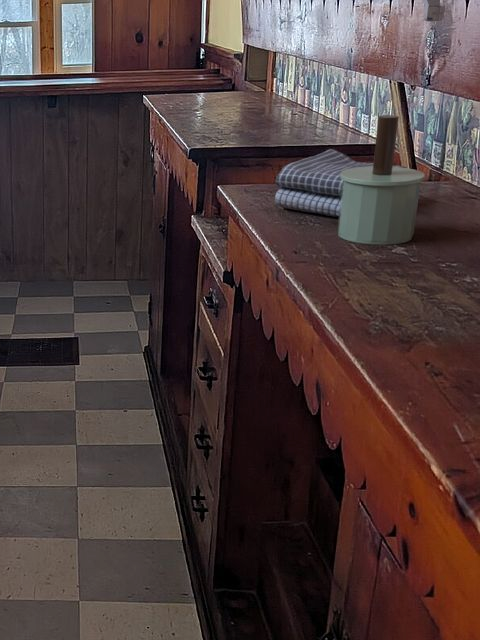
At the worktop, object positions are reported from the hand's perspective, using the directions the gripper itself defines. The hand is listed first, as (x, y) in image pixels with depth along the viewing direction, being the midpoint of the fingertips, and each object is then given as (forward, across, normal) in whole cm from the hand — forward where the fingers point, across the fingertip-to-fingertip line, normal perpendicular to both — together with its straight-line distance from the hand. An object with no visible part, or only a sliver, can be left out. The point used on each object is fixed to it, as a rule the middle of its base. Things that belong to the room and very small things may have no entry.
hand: (461, 21), depth 107 cm
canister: (+30, +11, 0) cm, 31 cm away
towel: (+30, +28, -6) cm, 41 cm away
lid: (+21, +11, 0) cm, 24 cm away
